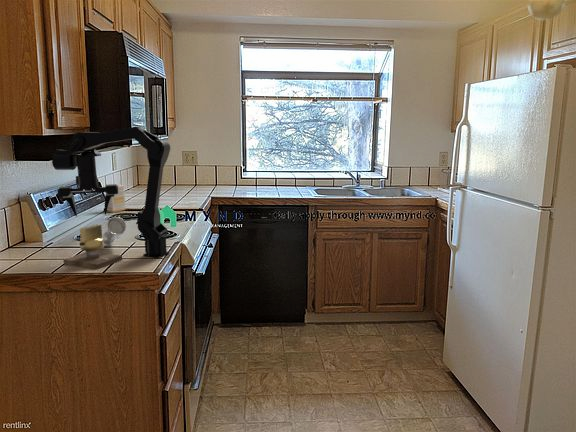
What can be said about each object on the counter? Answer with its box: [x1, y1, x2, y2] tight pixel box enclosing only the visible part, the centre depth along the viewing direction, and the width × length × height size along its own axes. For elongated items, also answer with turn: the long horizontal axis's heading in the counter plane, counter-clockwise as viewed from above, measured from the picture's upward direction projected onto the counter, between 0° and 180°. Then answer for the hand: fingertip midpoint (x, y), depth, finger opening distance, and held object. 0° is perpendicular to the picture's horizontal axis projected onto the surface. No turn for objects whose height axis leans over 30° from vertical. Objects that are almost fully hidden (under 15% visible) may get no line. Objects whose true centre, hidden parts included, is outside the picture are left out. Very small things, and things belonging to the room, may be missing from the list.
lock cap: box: [79, 224, 105, 252], centre depth 149 cm, size 8×7×7 cm
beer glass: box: [102, 216, 127, 246], centre depth 167 cm, size 7×7×15 cm
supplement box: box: [107, 184, 127, 213], centre depth 240 cm, size 8×5×13 cm, turn 149°
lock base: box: [62, 249, 123, 270], centre depth 150 cm, size 14×11×4 cm
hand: (91, 215), depth 158 cm, fingers open, 9 cm apart
